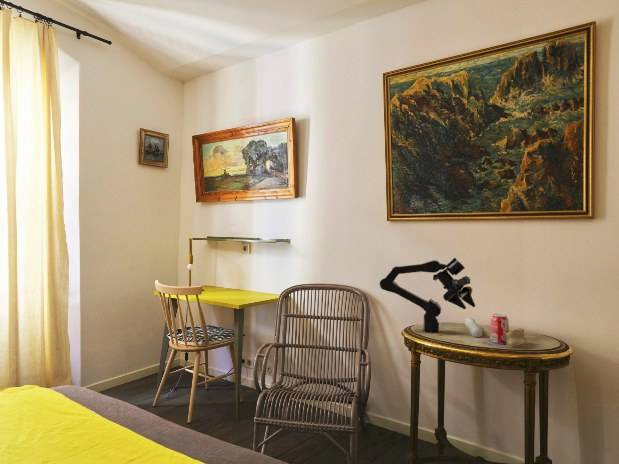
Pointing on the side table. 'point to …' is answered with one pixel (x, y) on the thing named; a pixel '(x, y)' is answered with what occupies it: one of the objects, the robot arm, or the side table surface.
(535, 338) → the side table surface
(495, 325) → the soda can
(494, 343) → the mat
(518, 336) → the backstop
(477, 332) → the tube
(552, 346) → the side table surface
